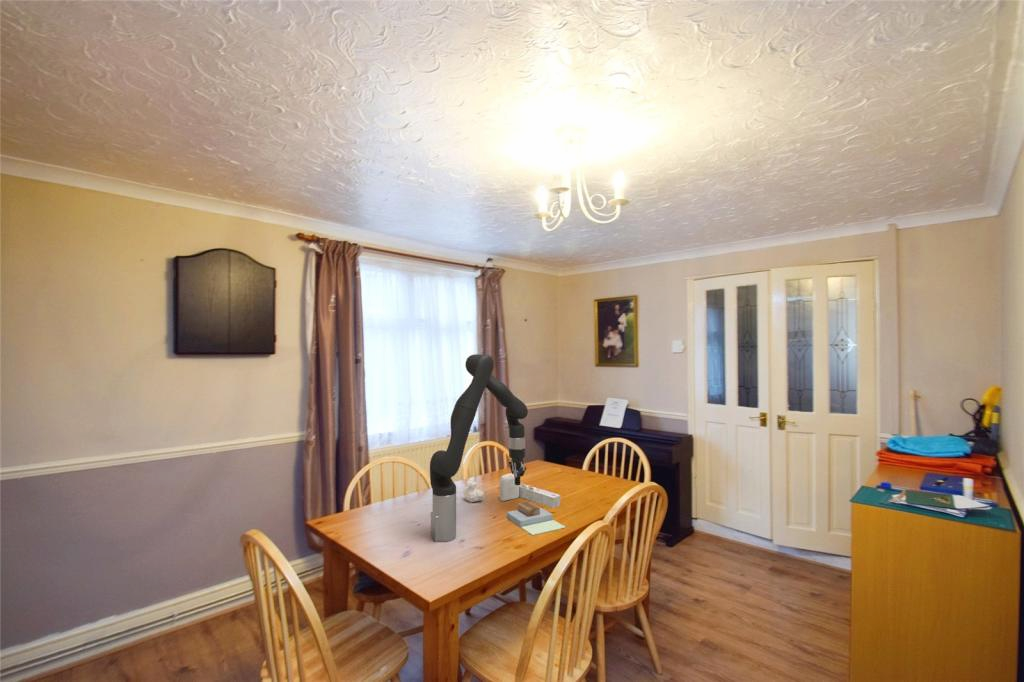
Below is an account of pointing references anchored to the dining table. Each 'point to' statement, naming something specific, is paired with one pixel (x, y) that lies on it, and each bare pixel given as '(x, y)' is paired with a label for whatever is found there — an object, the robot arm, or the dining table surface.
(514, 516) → the pale blue flat slab
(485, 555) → the dining table surface
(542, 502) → the box
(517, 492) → the photo printer
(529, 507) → the block
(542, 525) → the mat
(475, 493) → the bust
